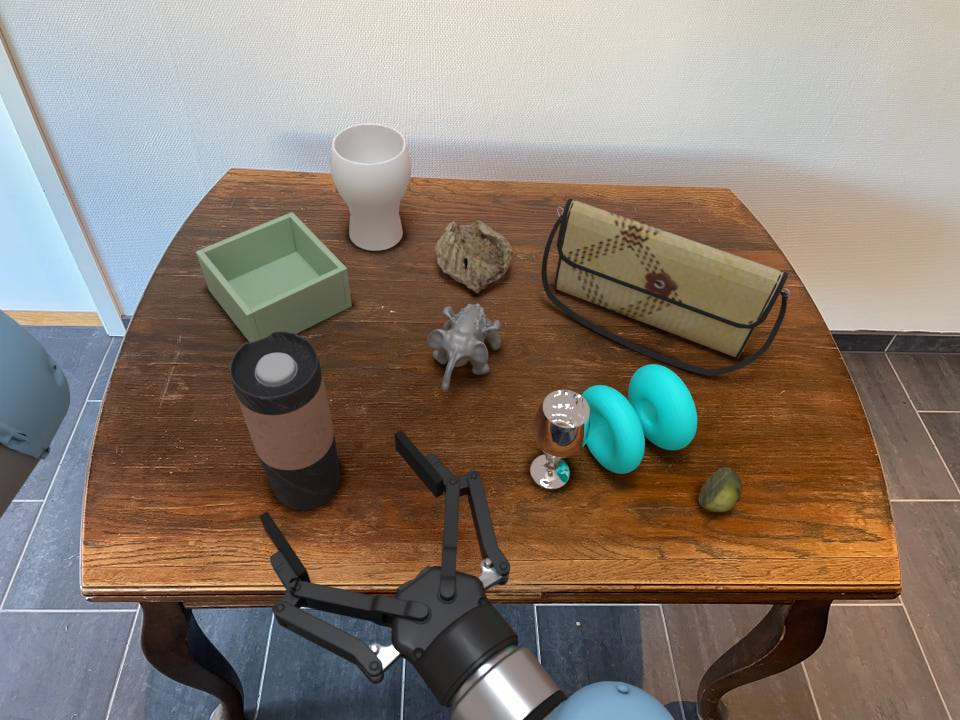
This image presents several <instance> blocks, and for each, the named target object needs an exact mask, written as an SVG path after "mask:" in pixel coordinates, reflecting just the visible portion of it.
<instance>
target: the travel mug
mask: <svg viewBox="0 0 960 720" xmlns="http://www.w3.org/2000/svg"><path fill="white" fill-rule="evenodd" d="M322 372H323V371H322V367H321V363H320V358H319V355H318V352H317V349H316V348H315V346H314V345H313V344H312V343H311V342H310V341H309V340H308V339H306V338H305V337H303V336H302V335H299V334H298V333H297V334H294V333H289V332H273V333H271V334H270V335H269V336H268V337H266V338H263V339H261V340H258V341H255V342H249V341H246V342H244V343H243V344H242V345H241V346H239V348H238V349H237V350H236V351H235V353H234V354H233V356H232V358H231V360H230V364H229V377H230V381H231V383H232V386H233V390H234V392H235V395H236V399H237V400H238V404H239V407H240V409H241V412H242V415H243V418H244V421H245V424H246V427H247V430H248V433H249V435H250V439H251V441H252V445H253V447H254V450H255V453H256V455H257V457H258V459H259V462H260V465H261V467H262V469H263V471H264V474H265V476H266V478H267V481H268V483H269V486H270V488H271V489H272V492H273V494H274V496H275V498H276V499H277V500H278V501H279V502H280V503H281V504H282V505H284V507H286V508H289V509H292V510H297V511H309V510H313V509H316V508H319V507H321V506H322V505H324V504H326V503H327V502H328V501H330V500H331V499H332V498H333V496H335V493H336V492H337V490H338V488H339V485H340V480H341V474H340V473H341V472H340V465H339V457H338V450H337V444H336V435H335V430H334V428H335V427H334V424H333V419H332V414H331V411H330V405H329V400H328V395H327V392H326V391H327V390H326V387H325V381H324V377H323V373H322Z"/></svg>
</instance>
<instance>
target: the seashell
mask: <svg viewBox="0 0 960 720" xmlns="http://www.w3.org/2000/svg"><path fill="white" fill-rule="evenodd" d="M434 252H435V255H436V258H437V265H438V267H439V268H440V269H441V270H442V273H444V274H447V275H449V276H450V278H452V280H453V279H454V281H455V282H457V283H460V284H462V285H465V286H466V288H467V289H469V290H471V291H473V292H474V293H475V294H479V293H480V292H481V290H485V289H486V287H487V286H488V285H489V284H491V283H493V282H497V281H499V280H500V279H501V278H502V276H504V275H506V273H507V271H508V269H509V268H510V266H511V260H512V259H513V254H514V251H513V249H512V246H511V243H510V241H508V240H507V238H506V237H505V236H504V235H502V234H500V233H499V232H497V231H495V230H493V229H492V228H491V227H490V226H489V225H487V224H486V223H485V222H483V221H481V220H477V221H475V222H472V223H470V224H466V225H465V224H462V225H459V224H457V223H456V222H455V221H454V220H452V221H451V222H449V223H448V224H447V226H446V227H445V228H444V229H443V233H442V235H441V236H440V238H439V239H438V240H437V242H436V244H435V245H434Z"/></svg>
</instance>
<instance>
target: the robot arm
mask: <svg viewBox="0 0 960 720" xmlns="http://www.w3.org/2000/svg"><path fill="white" fill-rule="evenodd" d="M70 389H71V388H70V386H69V383H68V380H67V378H66V376H65V373H64V371H63V369H62V368H61V366H60V365H59V363H58V362H57V361H56V360H55V359H54V358H53V357H52V355H50V354H49V352H48V351H47V349H46V348H45V347H44V346H43V345H42V344H41V342H40V341H39V340H38V339H37V338H36V337H35V336H34V335H32V333H30V332H29V331H28V330H27V329H26V328H25V327H24V326H22V325H21V324H20V323H19V322H18V321H16V320H15V319H14V318H13V317H12V316H10V315H9V314H7V313H6V312H5V311H3V310H2V309H0V519H1V518H2V517H3V516H4V514H5V513H6V511H7V510H8V508H9V507H10V505H11V504H12V502H13V501H14V499H15V498H16V496H17V495H18V493H19V492H20V490H21V489H22V488H23V486H24V484H26V482H27V480H28V479H29V477H31V474H33V471H34V470H35V469H36V467H37V465H38V464H39V463H40V461H41V460H46V458H47V457H48V456H49V454H51V443H53V440H54V438H55V437H56V435H57V432H58V431H59V429H60V427H61V425H62V423H63V421H64V420H65V418H66V416H67V414H68V411H69V409H70V405H71V390H70ZM394 445H395V447H394V448H395V451H396V452H397V453H398V454H399V455H400V457H401V458H402V459H403V461H404V462H405V463H406V464H407V465H408V466H409V468H410V469H411V470H412V471H413V472H414V473H415V475H416V476H417V477H418V479H420V481H421V482H422V483H423V484H424V486H425V487H426V488H427V490H429V491H430V493H431V495H433V496H434V497H435V499H438V498H440V497H441V496H443V495H444V494H445V498H444V500H445V501H444V513H443V514H444V515H443V530H442V531H443V533H442V547H441V561H440V562H441V563H440V565H432V566H430V565H427V566H426V567H424V568H423V569H421V570H420V571H419V572H418V574H417V575H416V576H415V578H412V579H410V580H407V581H405V582H404V583H402V584H401V585H400V586H398V587H397V588H396V592H395V593H394V595H393V597H392V596H387V595H383V594H376V595H372V594H367V593H362V592H357V591H353V590H348V589H344V588H339V587H334V586H328V585H326V584H325V585H323V584H319V583H315V582H312V581H311V578H310V575H309V572H308V570H307V568H306V567H305V565H304V564H303V562H302V561H301V559H300V558H299V556H298V554H297V553H296V552H295V550H294V549H293V547H292V546H291V543H289V542H288V540H287V538H286V537H285V536H284V533H283V532H282V531H281V530H280V528H279V526H278V525H277V524H276V522H275V520H274V519H273V517H272V515H271V514H270V513H269V511H268V510H267V511H265V512H263V513H262V514H260V515H259V516H258V517H259V519H260V521H261V524H262V527H263V529H264V531H265V533H266V534H267V536H268V538H269V539H270V541H272V544H273V545H274V547H275V548H276V550H277V551H276V552H274V553H273V554H272V555H270V556H269V561H270V565H271V567H272V570H273V571H274V573H275V574H276V576H277V577H278V579H279V581H280V582H281V584H282V586H283V587H284V588H285V593H284V595H283V596H282V597H281V599H280V600H278V601H276V602H275V603H273V606H272V608H271V610H272V613H273V616H274V617H275V619H276V622H277V623H278V625H279V626H280V627H282V628H284V629H286V630H288V631H289V632H291V633H294V634H295V635H298V636H300V637H301V638H303V639H304V640H307V641H309V642H311V643H313V644H315V645H317V646H319V647H320V648H323V649H325V650H327V651H328V652H330V653H332V654H334V655H336V656H338V657H340V658H342V659H344V660H346V661H348V662H349V663H351V664H354V665H355V666H356V667H357V668H358V669H359V670H360V671H361V672H362V674H363V676H365V677H366V679H367V680H368V681H369V682H370V683H371V684H374V685H379V684H380V683H382V682H383V681H384V678H385V673H386V672H387V671H388V670H389V669H390V668H391V667H392V666H393V665H395V663H396V662H397V661H398V660H400V658H401V659H404V660H406V661H408V662H409V663H410V664H411V665H412V666H413V668H414V670H416V672H417V673H418V675H419V676H420V678H421V680H422V681H423V682H424V683H425V685H426V687H427V688H428V689H429V690H430V692H431V693H432V695H433V696H434V697H435V699H436V700H437V702H438V703H439V705H440V706H441V707H446V708H451V707H452V709H451V712H450V713H451V714H450V720H675V718H674V717H673V715H672V714H671V713H670V711H669V710H668V709H667V708H666V707H665V706H664V705H663V704H662V703H661V702H660V701H659V700H658V699H657V698H656V697H655V696H653V695H651V694H650V693H648V692H647V691H646V690H643V689H642V688H640V687H639V686H638V687H637V686H635V685H632V684H629V683H626V682H624V681H614V680H613V681H612V680H606V681H605V680H604V681H598V682H597V681H596V682H593V683H591V684H587V685H585V686H583V687H581V688H579V689H578V690H576V691H575V692H574V693H573V694H572V695H570V696H569V697H568V696H567V695H566V694H565V692H564V691H563V690H562V688H561V687H560V686H559V685H558V684H557V683H556V681H555V680H554V679H553V678H552V677H551V675H550V674H549V672H548V671H547V670H546V669H545V667H544V666H543V665H542V663H540V661H539V660H538V659H537V657H536V656H535V654H533V652H532V651H531V650H530V649H529V647H518V645H519V635H518V634H517V632H516V631H515V630H514V629H513V628H512V627H511V626H510V624H509V623H508V622H507V620H506V619H505V618H504V617H503V615H502V614H501V612H500V611H498V609H497V608H496V607H495V605H493V603H492V602H491V600H489V598H488V597H487V594H486V591H488V590H490V589H491V588H493V587H494V586H496V585H498V586H504V585H506V584H507V583H508V582H509V578H510V574H511V573H510V572H511V567H512V566H511V563H510V561H509V559H508V558H507V557H506V555H505V554H504V553H503V551H502V550H501V548H500V547H499V544H498V540H497V536H496V532H495V528H494V525H493V524H494V523H493V520H492V517H491V511H490V507H489V505H488V500H487V496H486V493H485V492H486V491H485V488H484V485H483V484H484V483H483V480H482V476H481V474H480V472H479V471H477V470H475V469H474V470H470V471H468V472H467V474H464V475H459V476H458V475H455V474H453V473H452V472H451V470H449V468H448V467H447V466H446V465H445V464H444V463H443V462H442V460H441V459H440V458H439V456H437V455H436V454H434V453H432V452H431V453H429V454H427V455H424V454H423V453H422V452H421V451H420V450H419V449H418V448H417V446H416V445H415V444H414V443H413V442H412V440H411V439H410V438H409V437H408V436H407V435H406V433H405V432H404V430H402V429H400V430H399V431H396V432H395V433H394ZM463 496H467V501H468V505H469V509H470V513H471V518H472V521H473V522H472V523H473V528H474V531H475V535H476V540H477V544H478V548H479V552H480V556H481V557H480V558H481V562H480V567H479V571H480V575H479V576H476V575H473V574H470V573H466V572H462V571H459V570H457V558H458V557H457V555H458V535H459V516H460V497H463ZM301 608H305V609H310V610H316V611H318V612H319V611H320V612H324V613H329V614H334V615H339V616H343V617H348V618H353V619H357V620H362V621H366V622H371V623H373V624H375V625H377V626H381V627H384V628H389V629H391V636H390V640H391V644H390V645H387V646H383V645H381V644H379V643H377V642H374V643H371V644H370V645H368V644H366V643H365V642H364V641H363V640H361V639H360V638H358V637H356V636H354V635H353V634H350V633H349V632H346V631H344V630H343V629H340V628H338V627H336V626H335V625H333V624H331V623H329V622H326V621H325V620H323V619H321V618H319V617H318V616H315V615H313V614H312V613H309V612H307V611H305V610H304V609H301Z"/></svg>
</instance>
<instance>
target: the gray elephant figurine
mask: <svg viewBox="0 0 960 720" xmlns="http://www.w3.org/2000/svg"><path fill="white" fill-rule="evenodd" d="M442 316H443V317H447V318H448V320H447V321H446V322H444V324H443V325H442V328H437V329H434V330H432V331H431V332H430V333H429V334H428V336H427V338H426V345H427V347H429V348H431V349H432V350H434V351H433V352H432V357H433V359H434V360H436V361H437V362H438V363H439V364H441V365H446V364H447V365H446V366H445V367H446V368H445V371H444V374H443V377H442V383H441V390H442V392H447V391H448V390H449V388H450V383H451V382H450V381H451V377H452V373H453V370H454V368H461V367H463V366H465V365H466V364H467V363H468V362H470V364H471V365H472V367H471V368H472V369H471V372H472V373H473V374H474V375H478V376H480V375H486V374H488V373H489V372H490V369H491V368H490V366H489V363H488V361H489V351H488V348H487V346H486V344H485V340H486V341H487V343H488V345H489V347H490V349H492V350H494V351H497V350H499V349H500V348H501V346H502V339H501V337H500V334H499V331H500V330H501V329H502V323H501V322H500V320H498V319H495V320H494V321H493V322H492V320H491V319H490V318H488V317H487V314H485V307H482V306H481V304H480V303H479V302H478V303H477V302H476V304H472V303H467V304H466V306H465V307H464V308H463V307H461V308H460V311H459V312H458V313H456V314H455V312H454V310H453V307H452V306H451V305H448V306H445V307H444V308H443V309H442Z"/></svg>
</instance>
